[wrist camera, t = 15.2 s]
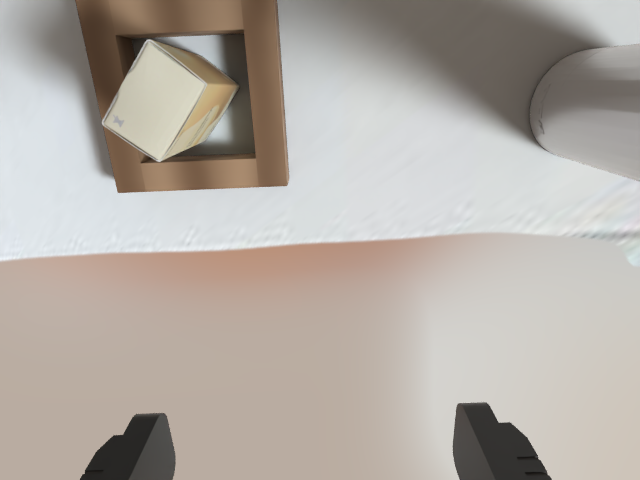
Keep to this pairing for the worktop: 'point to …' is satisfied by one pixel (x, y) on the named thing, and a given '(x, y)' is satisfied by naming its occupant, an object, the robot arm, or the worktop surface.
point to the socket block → (191, 20)
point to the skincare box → (169, 101)
